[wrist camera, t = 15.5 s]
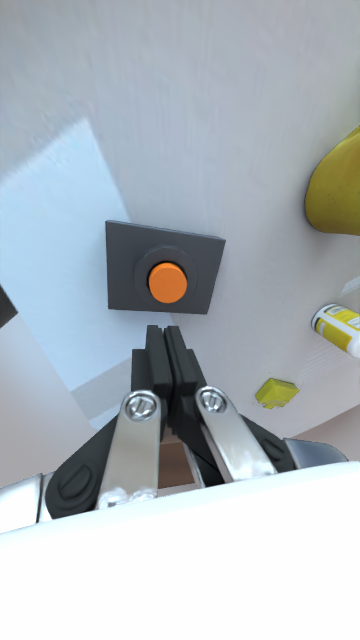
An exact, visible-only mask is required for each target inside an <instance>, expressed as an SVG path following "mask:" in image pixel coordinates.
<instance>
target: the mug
mask: <svg viewBox="0 0 360 640" xmlns="http://www.w3.org/2000/svg"><path fill="white" fill-rule="evenodd" d="M305 212H306V216H307V219H308V221H309V222H310V223H311V225H312V226H313V227H314V228H316V229H317V230H319V231H321V232H324V233H336V234H350V235H358V236H360V126H358V127H357V128H356V129H355V130H354V131H353V132H352V133H351V134H350V135H348V136H347V137H346V138H345V139H344V140H343V141H342V142H341V143H339V144H338V145H337V146H336V147H335V148H333V150H332V151H331V152H330V153H329V154H328V155H327V156H325V157H324V158H323V160H322V161H321V162H320V163H319V164H318V166H317V168H316V169H315V171H314V173H313V174H312V176H311V178H310V182H309V187H308V191H307V193H306V196H305Z"/></svg>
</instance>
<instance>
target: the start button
mask: <svg viewBox="0 0 360 640" xmlns="http://www.w3.org/2000/svg"><path fill="white" fill-rule="evenodd" d="M149 285H150V291H151V293H152V295H153V296H154V298H156V299H157V300H158V301H160V302H164V303H172V302H175V301H177V300H179V299H180V298H181V297H182V296H183V295H184V293H185V291H186V288H187V280H186V278H185V276H184V274H183V273H182V271H181V269H180V268H179V267H178V266H176V265H174V264H172V263H161V264H159V265H157V266H156V267H154V268H153V270H152V271H151V273H150V276H149Z"/></svg>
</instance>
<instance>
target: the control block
mask: <svg viewBox="0 0 360 640" xmlns="http://www.w3.org/2000/svg"><path fill="white" fill-rule="evenodd" d="M105 223H106V253H107V282H108V309H115V310H134V311H152V312H171V313H190V314H207V312H208V308H209V304H210V300H211V297H212V293H213V289H214V285H215V281H216V277H217V273H218V269H219V265H220V261H221V257H222V253H223V250H224V246H225V242H226V240H224V239H222V238H219V237H214V236H207V235H201V234H195V233H188V232H182V231H176V230H169V229H163V228H157V227H150V226H144V225H138V224H131V223H125V222H119V221H112V220H108V221H106V222H105ZM161 263H172V264H174V265H176V266H178V267H179V268H180V269H181V271H182V273H183V274H184V276H185V278H186V280H187V288H186V291H185V293H184V295H183V296H182V297H181V298H180V299H179V300H177V301H175V302H172V303H164V302H160V301H158V300H157V299H156V298H154V296H153V295H152V293H151V291H150V285H149V276H150V273H151V271H152V270H153V268H154V267H156V266H157V265H159V264H161Z"/></svg>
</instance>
